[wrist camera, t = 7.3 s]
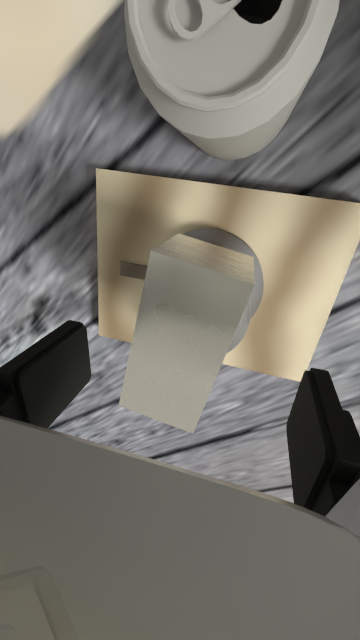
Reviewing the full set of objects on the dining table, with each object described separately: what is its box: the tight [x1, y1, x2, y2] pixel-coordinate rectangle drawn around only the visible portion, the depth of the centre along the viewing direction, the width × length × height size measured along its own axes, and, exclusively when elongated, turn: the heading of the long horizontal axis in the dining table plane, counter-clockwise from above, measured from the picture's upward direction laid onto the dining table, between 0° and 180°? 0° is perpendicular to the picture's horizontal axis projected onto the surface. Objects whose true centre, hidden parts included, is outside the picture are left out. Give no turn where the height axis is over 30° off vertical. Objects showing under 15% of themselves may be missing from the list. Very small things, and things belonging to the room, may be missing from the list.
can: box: [124, 0, 340, 160], centre depth 13 cm, size 8×8×12 cm
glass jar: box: [119, 234, 255, 434], centre depth 18 cm, size 10×7×10 cm
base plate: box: [96, 168, 360, 382], centre depth 23 cm, size 20×15×2 cm
